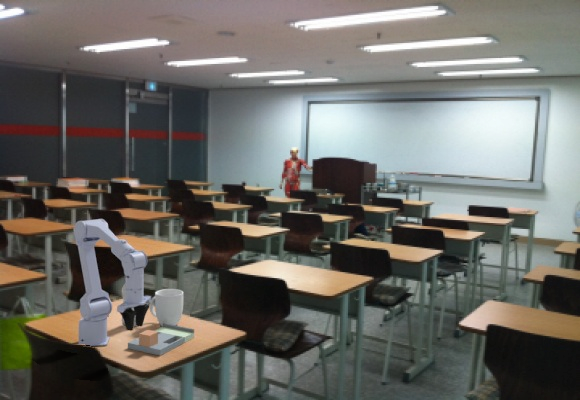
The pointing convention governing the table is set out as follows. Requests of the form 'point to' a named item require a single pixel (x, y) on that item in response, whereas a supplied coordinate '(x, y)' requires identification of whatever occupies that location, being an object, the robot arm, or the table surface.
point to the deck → (165, 339)
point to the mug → (167, 306)
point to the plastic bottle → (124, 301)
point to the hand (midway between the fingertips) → (134, 327)
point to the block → (148, 338)
